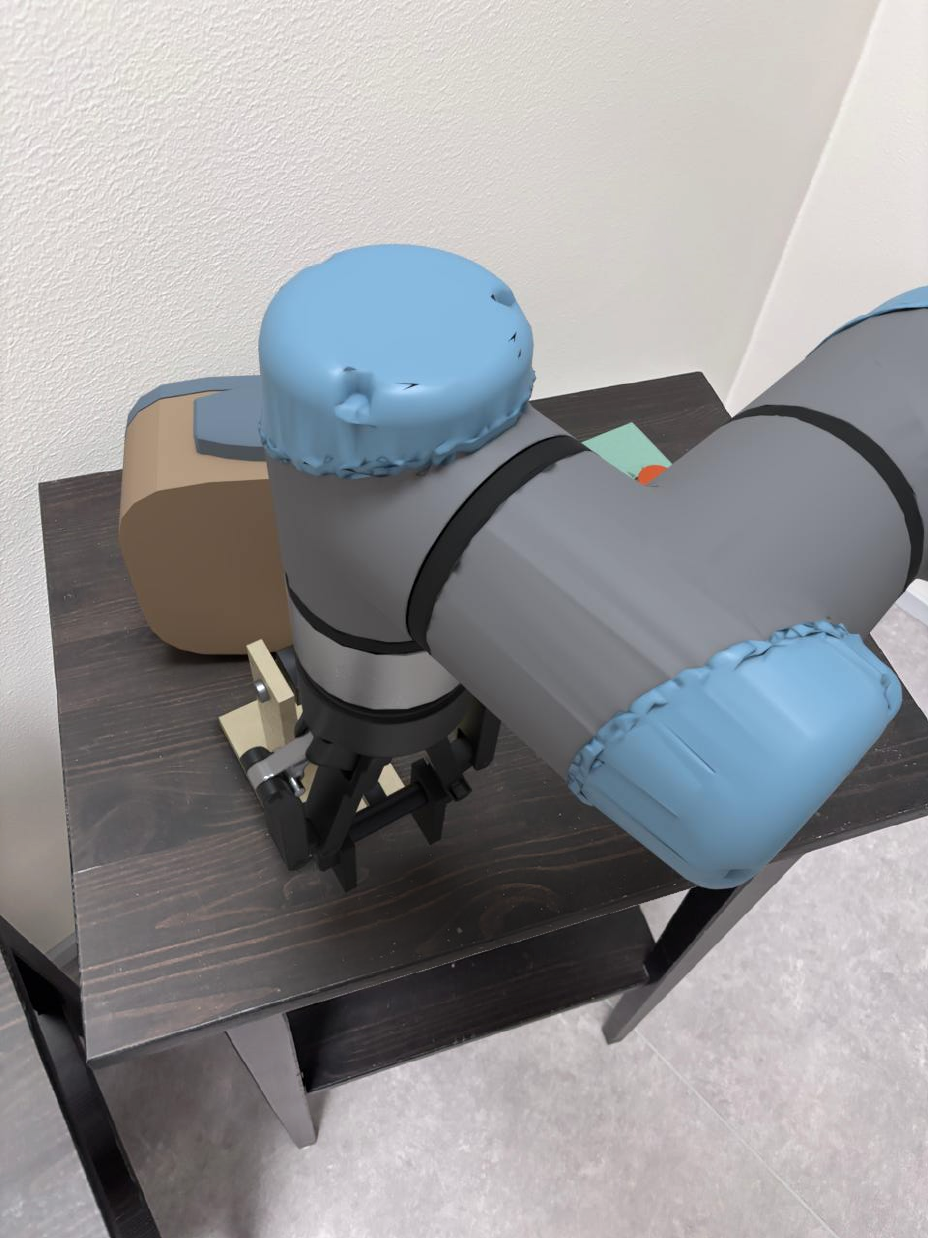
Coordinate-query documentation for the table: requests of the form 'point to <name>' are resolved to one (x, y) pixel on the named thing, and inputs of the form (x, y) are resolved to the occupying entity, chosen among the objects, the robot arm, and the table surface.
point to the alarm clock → (203, 518)
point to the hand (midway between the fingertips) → (383, 846)
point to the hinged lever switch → (277, 719)
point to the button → (649, 473)
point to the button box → (627, 450)
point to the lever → (377, 802)
